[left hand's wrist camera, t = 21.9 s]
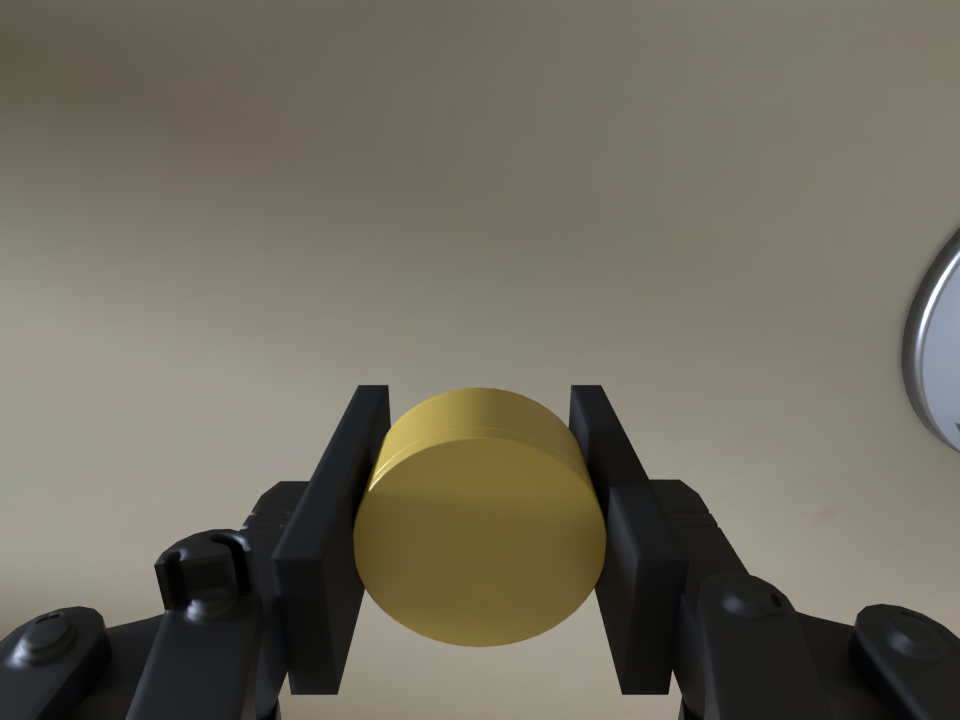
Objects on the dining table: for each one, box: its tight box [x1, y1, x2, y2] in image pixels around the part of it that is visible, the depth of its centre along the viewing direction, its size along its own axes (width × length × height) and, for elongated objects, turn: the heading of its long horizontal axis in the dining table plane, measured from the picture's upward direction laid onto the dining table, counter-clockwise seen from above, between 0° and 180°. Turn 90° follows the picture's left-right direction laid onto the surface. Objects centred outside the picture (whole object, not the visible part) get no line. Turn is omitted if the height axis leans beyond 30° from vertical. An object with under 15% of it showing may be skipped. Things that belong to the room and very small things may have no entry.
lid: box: [353, 388, 607, 647], centre depth 12 cm, size 5×5×2 cm
